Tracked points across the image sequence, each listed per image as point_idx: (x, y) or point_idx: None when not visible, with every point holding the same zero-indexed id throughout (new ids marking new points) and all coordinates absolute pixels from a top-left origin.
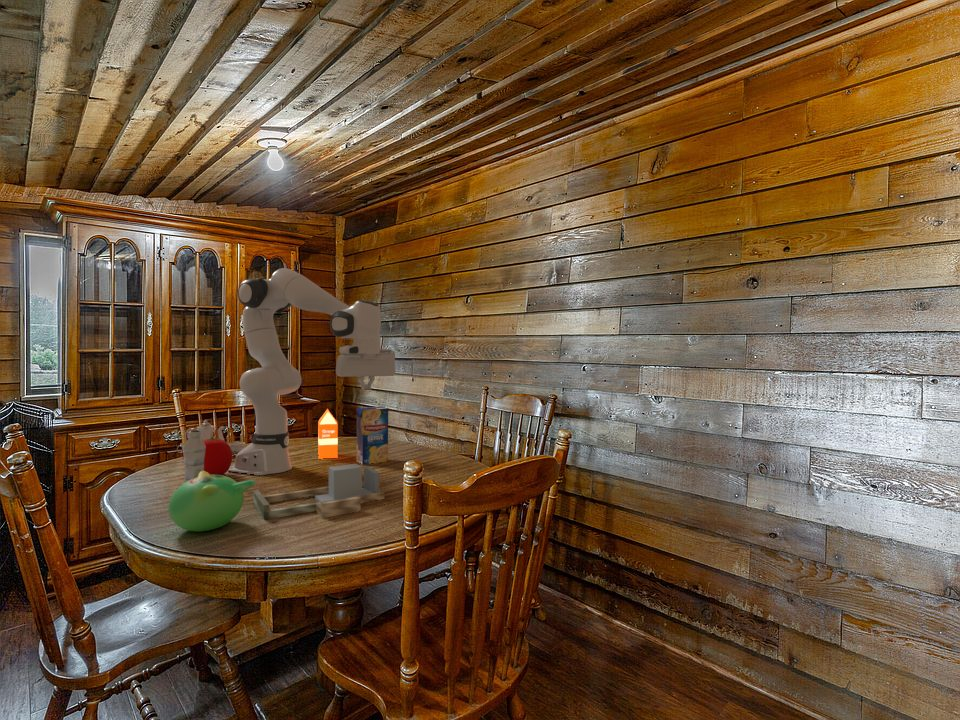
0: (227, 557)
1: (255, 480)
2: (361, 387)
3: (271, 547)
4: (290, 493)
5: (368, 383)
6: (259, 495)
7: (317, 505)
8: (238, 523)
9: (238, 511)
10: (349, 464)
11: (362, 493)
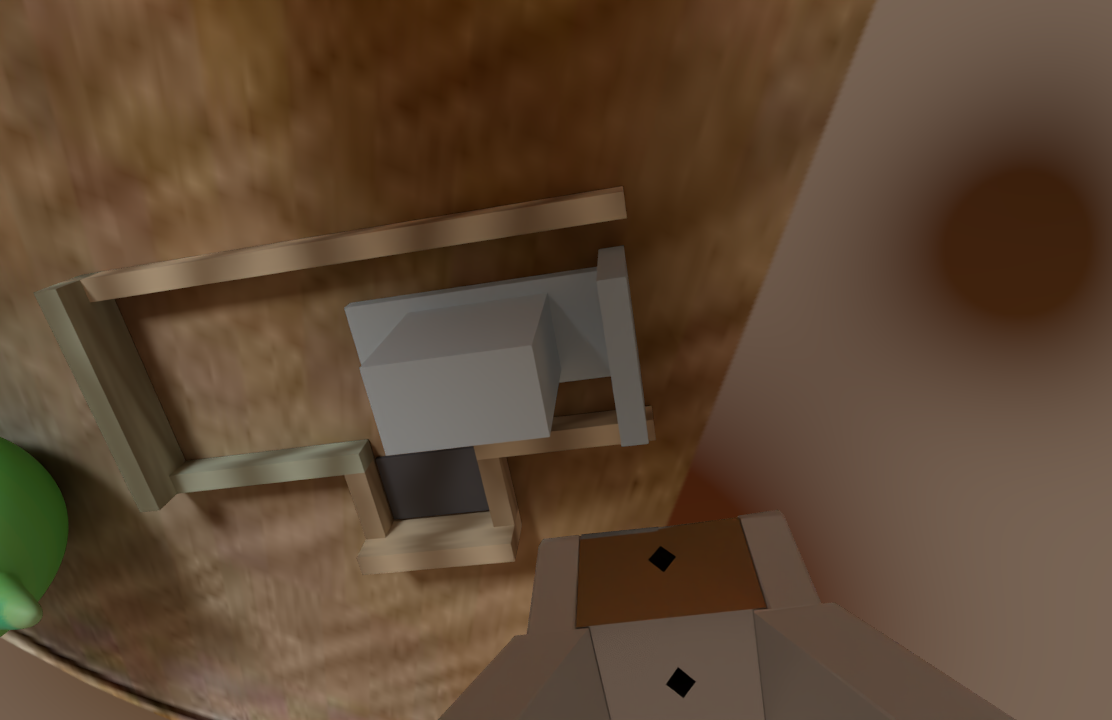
0: (144, 698)
1: (31, 623)
2: (541, 591)
3: (242, 685)
4: (222, 281)
5: (780, 673)
6: (87, 379)
7: (351, 492)
8: (96, 482)
9: (66, 542)
10: (487, 351)
11: (568, 355)
